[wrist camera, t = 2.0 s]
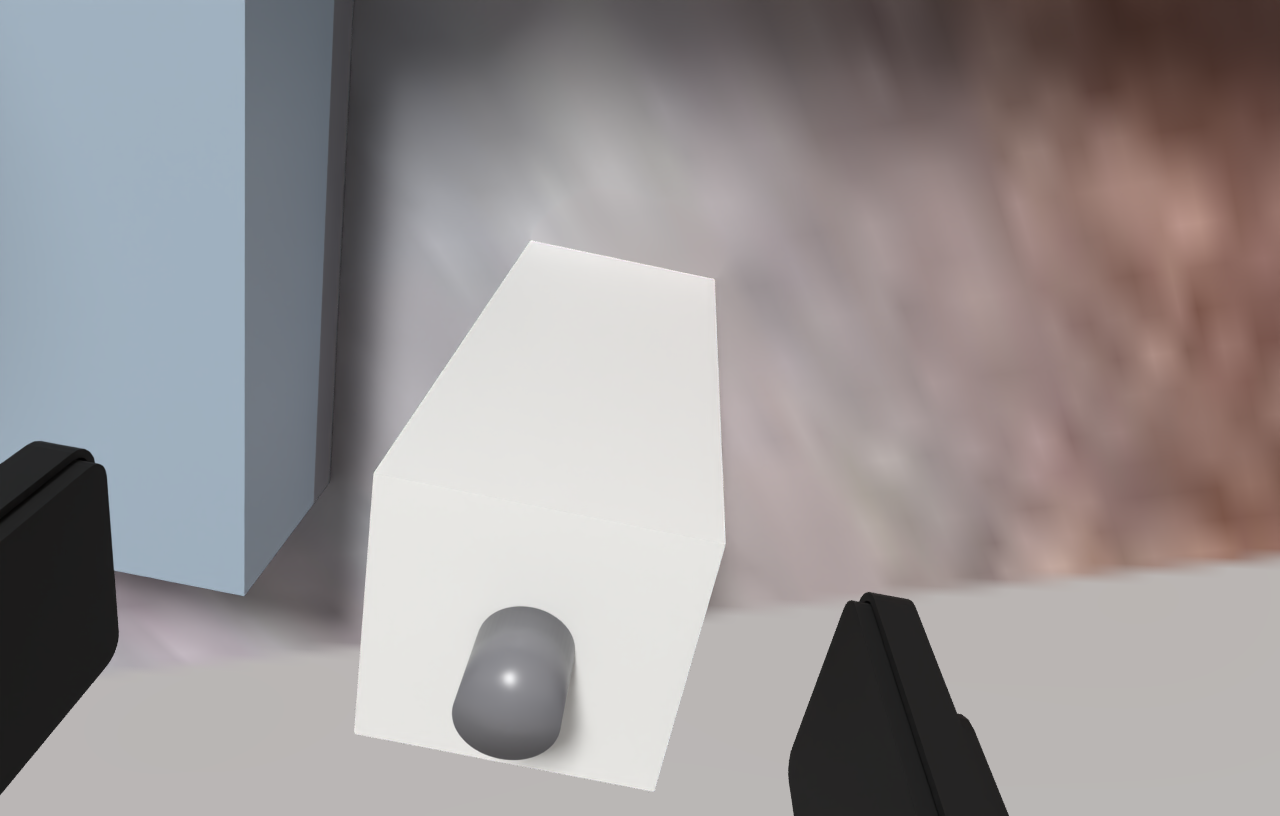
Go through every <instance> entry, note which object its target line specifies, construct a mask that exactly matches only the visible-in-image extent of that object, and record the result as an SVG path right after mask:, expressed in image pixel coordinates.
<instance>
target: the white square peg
mask: <svg viewBox="0 0 1280 816" xmlns="http://www.w3.org/2000/svg"><path fill="white" fill-rule="evenodd" d="M725 545H726V540H725V516H724V491H723V467H722V443H721V419H720V395H719V371H718V346H717V322H716V298H715V279H712V278H708V277H703V276H698V275H693V274H689V273H684V272H679V271H674V270H670V269H665V268H660V267H655V266H651V265H646V264H641V263H636V262H632V261H627V260H622V259H617V258H613V257H608V256H603V255H598V254H593V253H589V252H584V251H579V250H574V249H570V248H565V247H560V246H555V245H551V244H546V243H541V242H536V241H532V240H530V242H529V243H528V245H527V246H526V248H525V249H524V251H523V252H522V254H521V255H520V257H519V258H518V260H517V261H516V263H515V264H514V266H513V267H512V269H511V270H510V272H509V273H508V274H507V276H506V277H505V279H504V280H503V282H502V283H501V285H500V286H499V288H498V289H497V291H496V292H495V294H494V295H493V297H492V298H491V300H490V301H489V303H488V304H487V306H486V307H485V309H484V310H483V312H482V313H481V315H480V316H479V318H478V319H477V320H476V322H475V323H474V325H473V326H472V328H471V329H470V331H469V332H468V334H467V335H466V337H465V338H464V340H463V341H462V343H461V344H460V346H459V347H458V349H457V350H456V352H455V353H454V355H453V356H452V358H451V359H450V361H449V362H448V364H447V365H446V366H445V368H444V369H443V371H442V372H441V374H440V375H439V377H438V378H437V380H436V381H435V383H434V384H433V386H432V387H431V389H430V390H429V392H428V393H427V395H426V396H425V398H424V399H423V401H422V402H421V404H420V405H419V407H418V408H417V409H416V411H415V412H414V414H413V415H412V417H411V418H410V420H409V421H408V423H407V424H406V426H405V427H404V429H403V430H402V432H401V433H400V435H399V436H398V438H397V439H396V441H395V442H394V444H393V445H392V447H391V448H390V450H389V451H388V453H387V454H386V455H385V457H384V458H383V460H382V461H381V463H380V464H379V466H378V467H377V469H376V470H375V472H374V474H373V488H372V501H371V514H370V527H369V541H368V554H367V567H366V581H365V594H364V607H363V621H362V634H361V647H360V661H359V674H358V687H357V702H356V715H355V727H354V734H358V735H363V736H368V737H373V738H379V739H383V740H388V741H394V742H399V743H404V744H409V745H414V746H420V747H425V748H430V749H435V750H440V751H445V752H451V753H456V754H461V755H466V756H471V757H476V758H481V759H486V760H492V761H497V762H502V763H507V764H513V765H517V766H523V767H528V768H533V769H538V770H543V771H548V772H554V773H559V774H564V775H569V776H574V777H580V778H584V779H590V780H595V781H600V782H605V783H610V784H615V785H621V786H626V787H631V788H636V789H641V790H646V791H651V792H655V788H656V785H657V781H658V777H659V774H660V771H661V767H662V764H663V760H664V757H665V753H666V750H667V746H668V743H669V739H670V736H671V732H672V729H673V726H674V722H675V719H676V715H677V712H678V708H679V704H680V701H681V698H682V694H683V691H684V687H685V684H686V680H687V677H688V673H689V670H690V667H691V663H692V659H693V656H694V652H695V649H696V646H697V642H698V638H699V635H700V631H701V628H702V625H703V621H704V618H705V614H706V611H707V607H708V604H709V601H710V597H711V594H712V590H713V587H714V583H715V580H716V576H717V573H718V569H719V566H720V562H721V559H722V555H723V552H724V548H725Z"/></svg>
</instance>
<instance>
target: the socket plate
mask: <svg viewBox="0 0 1280 816" xmlns="http://www.w3.org/2000/svg"><path fill="white" fill-rule="evenodd" d="M353 4H354V0H0V464H1V463H2V462H4V461H5V460H6V459H8V458H9V457H11V456H12V455H13V454H15V453H16V452H18V451H19V450H20V449H22V448H23V447H25V446H26V445H28V444H30V443H32V442H34V441H44V442H50V443H55V444H61V445H66V446H71V447H77V448H82V449H86V450H88V451H90V452H91V454H92V455H93V457H94V460H95V463H98V464H101V465H103V466H104V468H105V470H106V474H107V483H108V496H109V510H110V523H111V536H112V550H113V563H114V571H119V572H124V573H129V574H134V575H140V576H145V577H150V578H155V579H160V580H165V581H170V582H175V583H180V584H185V585H190V586H195V587H200V588H205V589H211V590H216V591H221V592H226V593H231V594H236V595H241V596H245V595H246V593H247V592H248V591H249V589H250V588H251V587H252V585H253V584H254V583H255V581H256V580H257V579H258V577H259V576H260V575H261V573H262V572H263V571H264V569H265V568H266V567H267V565H268V564H269V563H270V561H271V560H272V559H273V557H274V556H275V555H276V553H277V552H278V551H279V549H280V548H281V547H282V545H283V544H284V543H285V541H286V540H287V539H288V537H289V536H290V535H291V533H292V532H293V531H294V529H295V528H296V527H297V525H298V524H299V523H300V521H301V520H302V519H303V517H304V516H305V515H306V513H307V512H308V510H309V509H310V508H311V506H312V505H313V504H314V502H315V501H316V500H317V498H318V497H319V496H320V494H321V493H322V492H323V490H324V489H325V488H326V486H327V485H328V484H329V482H330V465H331V445H332V425H333V405H334V385H335V365H336V345H337V325H338V305H339V285H340V265H341V245H342V225H343V205H344V185H345V165H346V145H347V125H348V105H349V84H350V64H351V44H352V24H353Z"/></svg>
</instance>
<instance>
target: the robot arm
mask: <svg viewBox="0 0 1280 816" xmlns="http://www.w3.org/2000/svg"><path fill="white" fill-rule="evenodd" d="M118 637H119V630H118V616H117V603H116V590H115V576H114V563H113V550H112V536H111V523H110V510H109V496H108V483H107V474H106V470H105V468H104V466H103V465H101V464H98V463H95V460H94V457H93V455H92V454H91V452H90V451H88V450H86V449H82V448H77V447H71V446H66V445H61V444H55V443H50V442H44V441H34V442H32V443H30V444H28V445H26V446H25V447H23V448H22V449H20V450H19V451H18V452H16V453H15V454H13V455H12V456H11V457H9V458H8V459H6V460H5V461H4V462H2V463H1V464H0V795H1V793H2V792H3V791H4V790H5V789H6V787H7V786H8V785H9V784H10V783H11V781H12V780H13V779H14V778H15V777H16V775H17V774H18V773H19V772H20V770H21V769H22V768H23V767H24V766H25V764H26V763H27V762H28V761H29V759H30V758H31V757H32V756H33V755H34V753H35V752H36V751H37V750H38V749H39V747H40V746H41V745H42V744H43V743H44V741H45V740H46V739H47V738H48V737H49V735H50V734H51V733H52V732H53V730H54V729H55V728H56V727H57V726H58V724H59V723H60V722H61V721H62V720H63V718H64V717H65V716H66V715H67V713H68V712H69V711H70V710H71V709H72V707H73V706H74V705H75V704H76V703H77V701H78V700H79V699H80V698H81V697H82V695H83V694H84V693H85V692H86V690H87V689H88V688H89V687H90V686H91V684H92V683H93V682H94V681H95V680H96V678H97V677H98V676H99V675H100V674H101V672H102V671H103V670H104V669H105V667H106V666H107V665H108V663H109V662H110V661H111V659H112V657H113V655H114V653H115V650H116V647H117V643H118ZM788 771H789V773H788V776H789V786H790V792H791V799H792V805H793V812H794V816H1009V815H1008V812H1007V810H1006V808H1005V805H1004V803H1003V800H1002V798H1001V795H1000V793H999V790H998V788H997V785H996V783H995V780H994V778H993V776H992V773H991V770H990V768H989V765H988V763H987V761H986V758H985V756H984V753H983V751H982V748H981V746H980V743H979V741H978V738H977V736H976V733H975V731H974V729H973V727H972V725H971V724H970V722H969V720H968V719H967V718H966V717H964V716H963V715H962V714H957V712H956V710H955V707H954V705H953V702H952V699H951V697H950V694H949V692H948V689H947V687H946V684H945V682H944V679H943V677H942V674H941V671H940V669H939V666H938V664H937V661H936V659H935V656H934V653H933V651H932V648H931V646H930V643H929V640H928V638H927V635H926V633H925V630H924V628H923V625H922V623H921V620H920V617H919V615H918V612H917V610H916V607H915V605H914V604H913V602H912V601H911V600H909V599H904V598H898V597H893V596H887V595H882V594H876V593H871V592H867V593H865V594H864V595H863V596H862V597H861V599H860V601H859V602H857V601H852V600H851V601H848V602H847V604H846V605H845V607H844V610H843V612H842V615H841V618H840V620H839V623H838V626H837V628H836V631H835V634H834V636H833V639H832V642H831V644H830V647H829V650H828V653H827V655H826V658H825V661H824V663H823V666H822V669H821V671H820V674H819V677H818V679H817V682H816V685H815V688H814V691H813V693H812V696H811V698H810V701H809V704H808V707H807V709H806V712H805V715H804V717H803V720H802V723H801V725H800V728H799V731H798V733H797V736H796V739H795V742H794V744H793V747H792V750H791V754H790V759H789V768H788Z"/></svg>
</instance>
